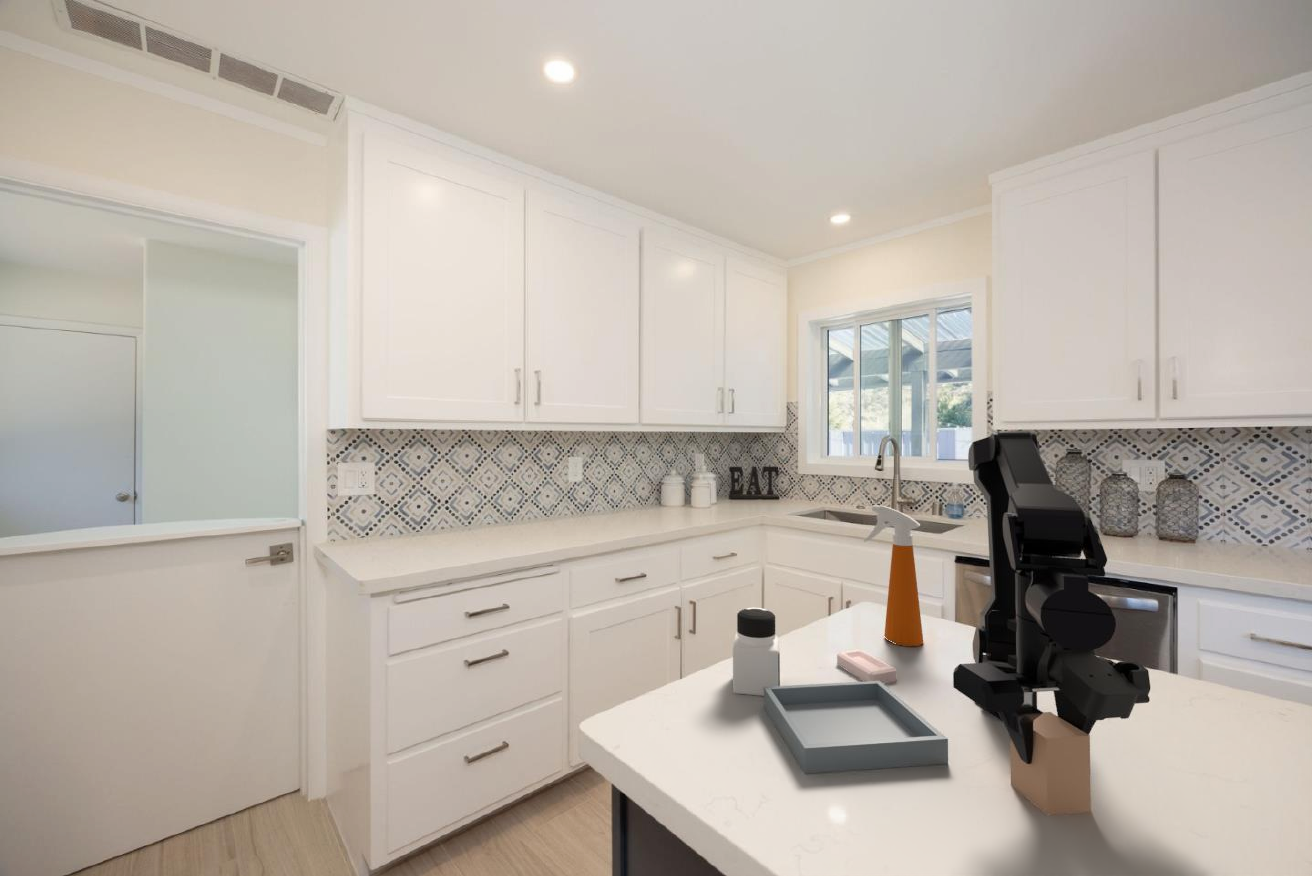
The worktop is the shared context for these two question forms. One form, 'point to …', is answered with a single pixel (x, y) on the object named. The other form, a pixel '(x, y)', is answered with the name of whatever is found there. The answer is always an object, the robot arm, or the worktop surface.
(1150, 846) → the worktop surface
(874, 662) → the soap bar
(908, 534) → the spray bottle
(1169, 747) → the worktop surface
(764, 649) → the medicine bottle
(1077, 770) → the carton
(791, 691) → the tray
